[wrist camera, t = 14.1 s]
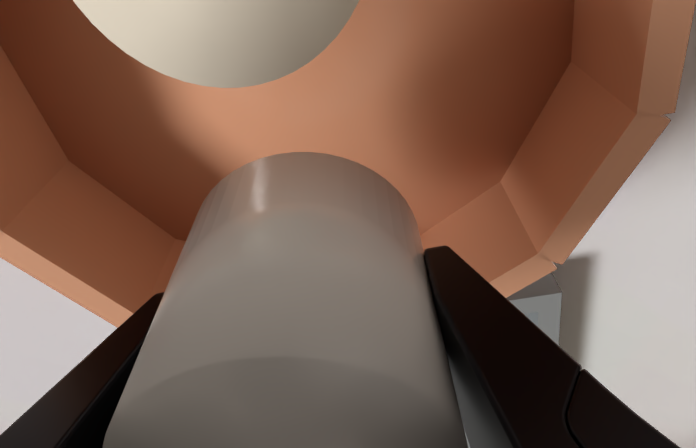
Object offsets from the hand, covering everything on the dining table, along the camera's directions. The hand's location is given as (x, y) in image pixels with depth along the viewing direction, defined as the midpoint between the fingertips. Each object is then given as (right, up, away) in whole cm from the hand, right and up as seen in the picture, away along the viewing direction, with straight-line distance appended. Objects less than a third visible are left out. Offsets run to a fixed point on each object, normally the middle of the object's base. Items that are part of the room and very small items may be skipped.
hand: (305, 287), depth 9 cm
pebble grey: (0, +1, +1) cm, 1 cm away
